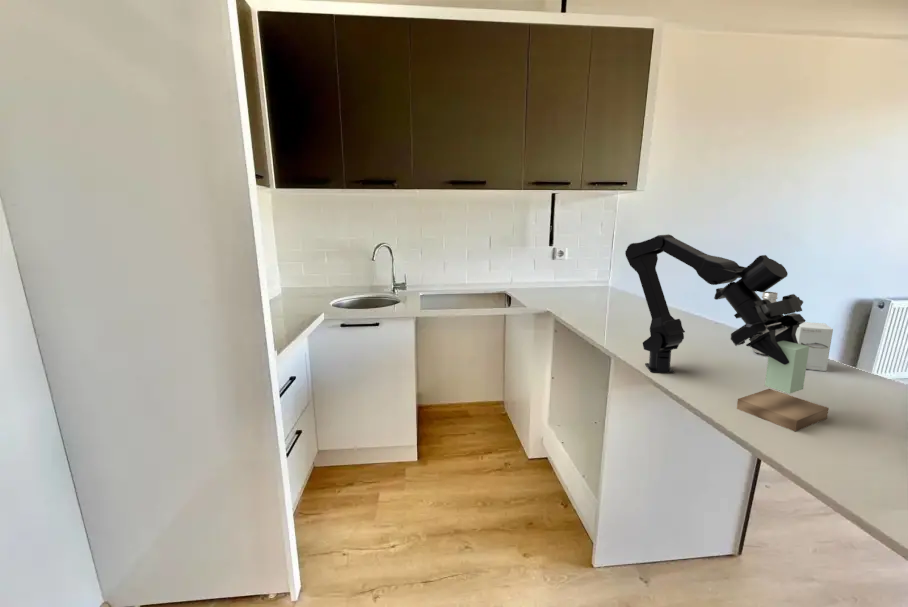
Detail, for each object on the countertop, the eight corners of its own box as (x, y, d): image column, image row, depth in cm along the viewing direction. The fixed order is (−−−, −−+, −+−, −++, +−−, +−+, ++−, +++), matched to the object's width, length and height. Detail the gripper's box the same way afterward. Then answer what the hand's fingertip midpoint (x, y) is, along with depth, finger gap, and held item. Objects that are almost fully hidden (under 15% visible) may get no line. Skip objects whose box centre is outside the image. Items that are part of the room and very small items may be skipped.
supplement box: (794, 368, 119) (799, 326, 116) (788, 360, 125) (793, 320, 123) (827, 372, 115) (833, 328, 113) (819, 363, 122) (825, 322, 119)
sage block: (764, 385, 94) (770, 343, 92) (777, 381, 96) (783, 340, 94) (789, 393, 89) (795, 350, 87) (803, 389, 91) (809, 346, 89)
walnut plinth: (736, 408, 97) (737, 398, 96) (767, 398, 101) (769, 388, 101) (795, 431, 86) (796, 420, 85) (827, 418, 91) (828, 407, 90)
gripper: (750, 287, 88) (803, 351, 80) (800, 279, 95) (854, 336, 87) (711, 316, 96) (756, 375, 89) (760, 306, 103) (805, 360, 96)
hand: (794, 361), depth 90 cm, fingers closed on sage block, 5 cm apart
